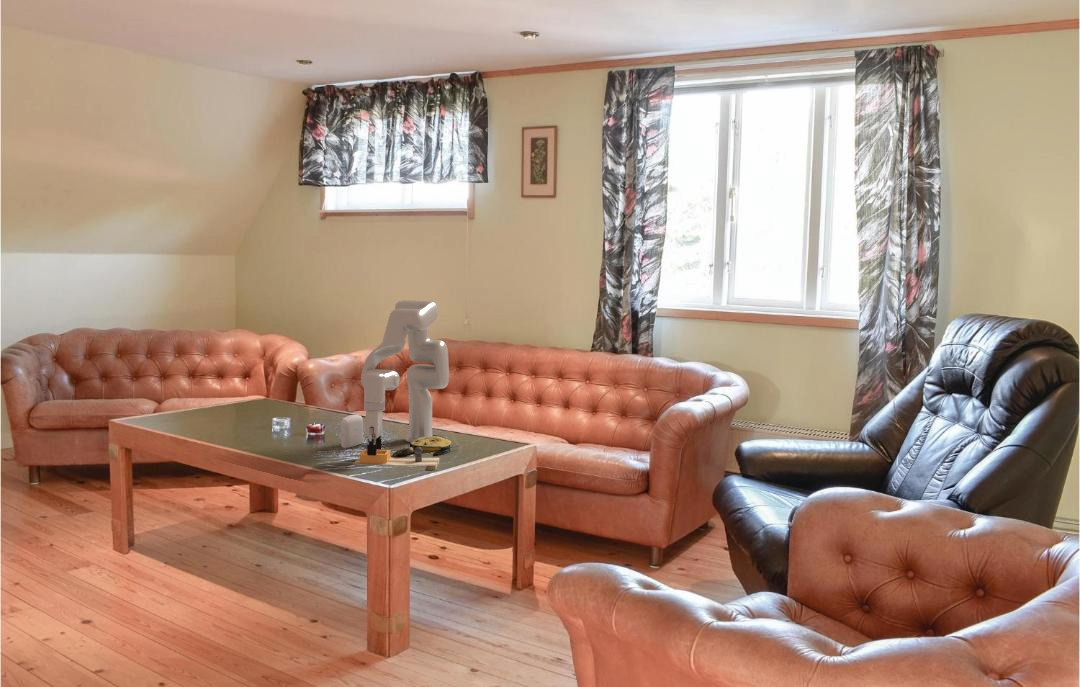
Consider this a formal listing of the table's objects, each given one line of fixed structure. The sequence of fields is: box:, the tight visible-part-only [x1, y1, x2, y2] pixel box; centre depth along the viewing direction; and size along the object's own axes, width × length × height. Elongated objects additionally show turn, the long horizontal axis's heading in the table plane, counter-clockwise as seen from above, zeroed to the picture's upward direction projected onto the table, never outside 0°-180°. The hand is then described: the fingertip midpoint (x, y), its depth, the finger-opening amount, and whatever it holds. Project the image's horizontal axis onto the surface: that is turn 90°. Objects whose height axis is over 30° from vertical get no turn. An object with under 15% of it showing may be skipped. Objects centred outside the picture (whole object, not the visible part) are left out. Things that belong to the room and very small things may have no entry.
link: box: [358, 449, 391, 463], centre depth 325 cm, size 7×10×3 cm
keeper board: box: [352, 447, 440, 471], centre depth 324 cm, size 12×30×7 cm, turn 90°
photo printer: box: [340, 414, 364, 449], centre depth 354 cm, size 10×4×12 cm, turn 150°
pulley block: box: [392, 434, 459, 457], centre depth 342 cm, size 14×6×30 cm
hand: (374, 452), depth 324 cm, fingers open, 9 cm apart
